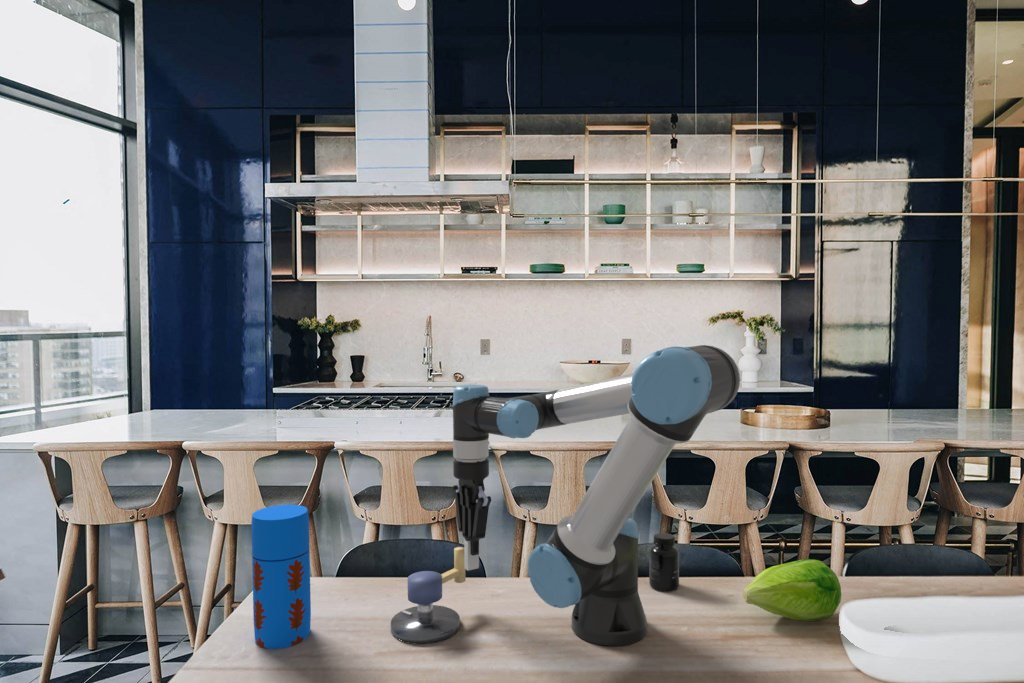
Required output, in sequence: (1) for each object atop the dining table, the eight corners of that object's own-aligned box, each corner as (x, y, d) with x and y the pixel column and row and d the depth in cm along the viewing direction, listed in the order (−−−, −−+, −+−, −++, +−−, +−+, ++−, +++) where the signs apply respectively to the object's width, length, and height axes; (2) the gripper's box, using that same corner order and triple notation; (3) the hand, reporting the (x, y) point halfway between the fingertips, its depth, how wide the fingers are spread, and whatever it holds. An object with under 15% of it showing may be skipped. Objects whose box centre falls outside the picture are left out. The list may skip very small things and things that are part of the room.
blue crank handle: (425, 608, 130) (425, 573, 129) (400, 600, 134) (400, 566, 134) (475, 582, 142) (475, 550, 142) (451, 575, 146) (451, 544, 146)
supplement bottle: (682, 592, 151) (682, 540, 150) (652, 592, 151) (652, 540, 150) (675, 580, 158) (675, 531, 157) (646, 580, 158) (646, 531, 157)
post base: (473, 623, 136) (473, 594, 136) (427, 651, 125) (426, 620, 125) (424, 606, 145) (423, 579, 144) (376, 631, 133) (375, 602, 133)
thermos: (274, 655, 124) (271, 523, 123) (242, 638, 131) (240, 514, 130) (322, 632, 133) (319, 510, 132) (290, 618, 139) (288, 501, 138)
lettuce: (728, 607, 143) (728, 553, 142) (815, 602, 145) (815, 548, 145) (760, 638, 129) (760, 578, 129) (855, 631, 131) (856, 572, 131)
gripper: (502, 461, 135) (502, 574, 136) (472, 450, 147) (472, 555, 147) (470, 466, 131) (470, 582, 132) (441, 454, 143) (442, 562, 143)
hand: (471, 568), depth 140 cm, fingers closed
